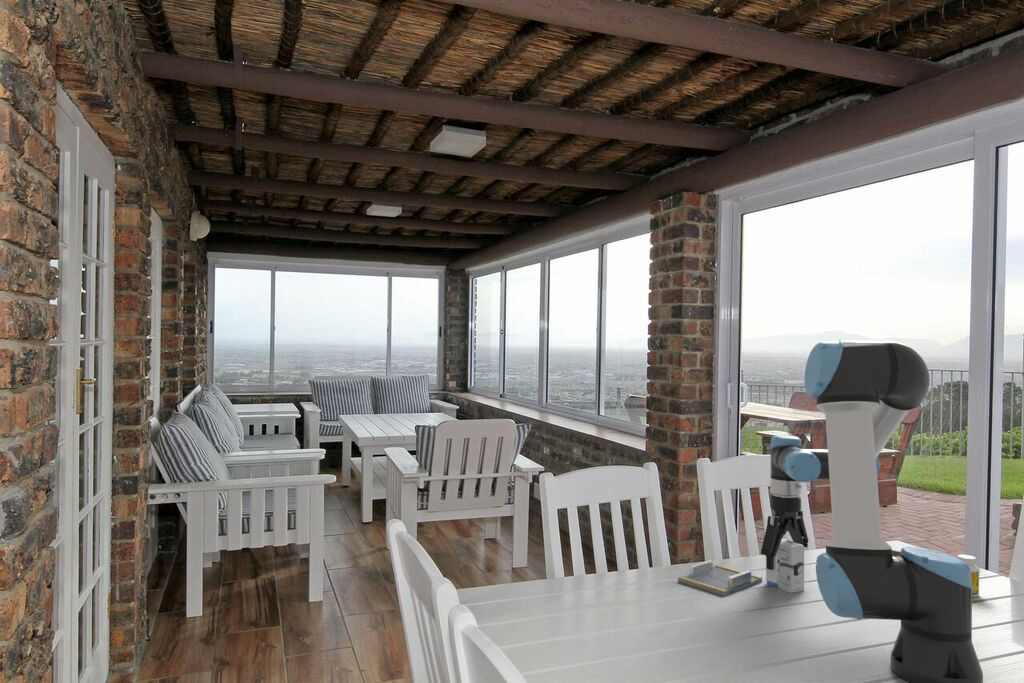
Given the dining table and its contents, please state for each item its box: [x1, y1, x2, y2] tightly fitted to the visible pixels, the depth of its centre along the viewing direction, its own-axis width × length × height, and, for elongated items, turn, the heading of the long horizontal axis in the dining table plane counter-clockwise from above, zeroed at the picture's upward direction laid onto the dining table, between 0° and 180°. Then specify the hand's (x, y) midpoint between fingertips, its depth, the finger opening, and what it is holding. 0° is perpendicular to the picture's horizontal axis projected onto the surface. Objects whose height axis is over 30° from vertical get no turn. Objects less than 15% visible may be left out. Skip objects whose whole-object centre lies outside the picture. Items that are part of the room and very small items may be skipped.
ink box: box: [766, 537, 806, 594], centre depth 183 cm, size 8×5×12 cm, turn 25°
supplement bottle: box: [956, 554, 980, 598], centre depth 179 cm, size 5×5×10 cm
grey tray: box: [677, 559, 763, 597], centre depth 187 cm, size 18×14×4 cm
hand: (785, 576), depth 183 cm, fingers open, 13 cm apart
